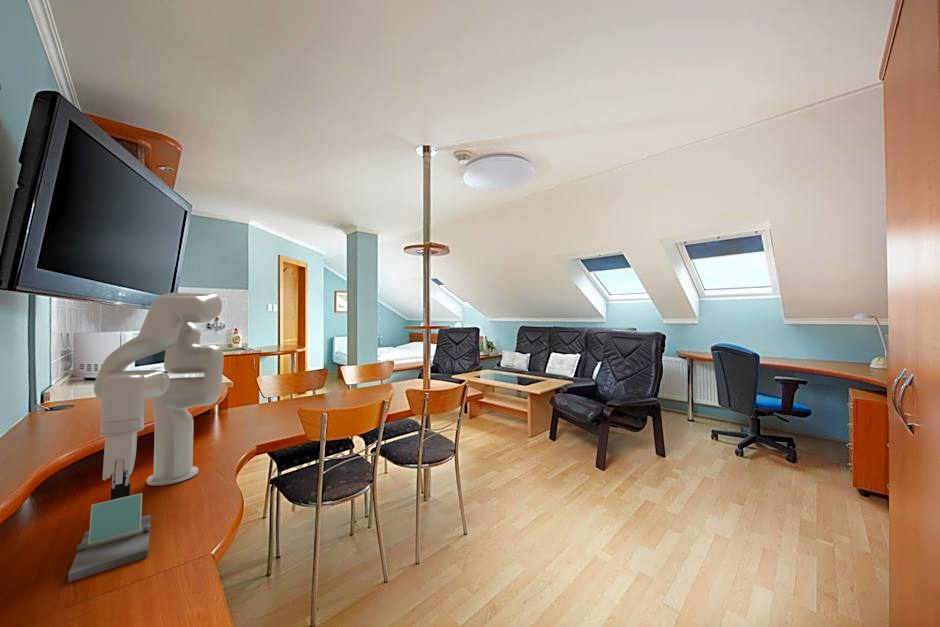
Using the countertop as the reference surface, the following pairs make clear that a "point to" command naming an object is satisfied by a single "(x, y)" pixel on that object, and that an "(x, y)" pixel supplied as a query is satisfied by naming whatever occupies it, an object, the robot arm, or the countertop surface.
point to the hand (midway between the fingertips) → (120, 503)
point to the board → (110, 551)
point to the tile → (115, 517)
